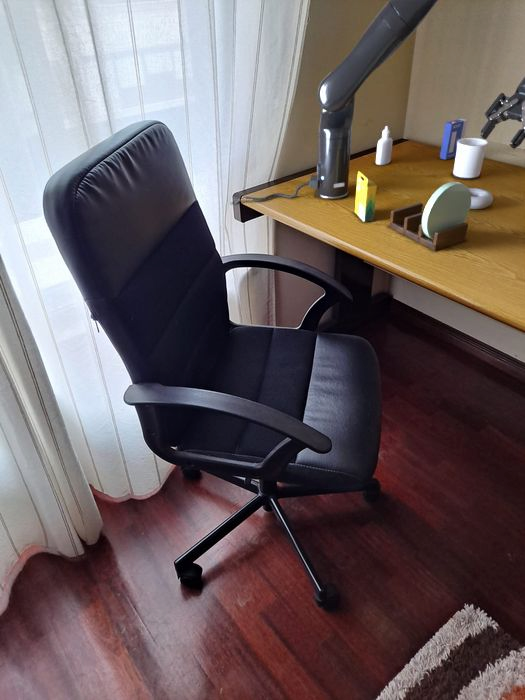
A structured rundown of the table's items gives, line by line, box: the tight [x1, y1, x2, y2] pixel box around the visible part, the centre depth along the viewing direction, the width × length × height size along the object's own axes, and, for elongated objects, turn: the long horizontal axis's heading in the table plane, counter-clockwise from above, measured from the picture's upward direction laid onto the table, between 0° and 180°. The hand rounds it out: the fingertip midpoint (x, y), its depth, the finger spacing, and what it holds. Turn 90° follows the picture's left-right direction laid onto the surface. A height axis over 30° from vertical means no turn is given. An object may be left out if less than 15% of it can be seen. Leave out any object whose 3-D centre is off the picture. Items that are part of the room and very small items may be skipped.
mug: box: [452, 137, 489, 181], centre depth 156 cm, size 11×9×10 cm
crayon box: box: [354, 170, 378, 223], centre depth 134 cm, size 7×3×12 cm, turn 12°
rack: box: [389, 201, 469, 252], centre depth 126 cm, size 17×10×4 cm, turn 29°
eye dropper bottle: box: [375, 125, 394, 166], centre depth 168 cm, size 4×6×12 cm
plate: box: [422, 181, 471, 241], centre depth 119 cm, size 2×14×14 cm, turn 119°
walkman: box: [439, 118, 468, 160], centre depth 170 cm, size 8×3×12 cm, turn 122°
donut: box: [468, 187, 494, 210], centre depth 140 cm, size 10×4×10 cm
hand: (496, 141), depth 117 cm, fingers open, 8 cm apart
